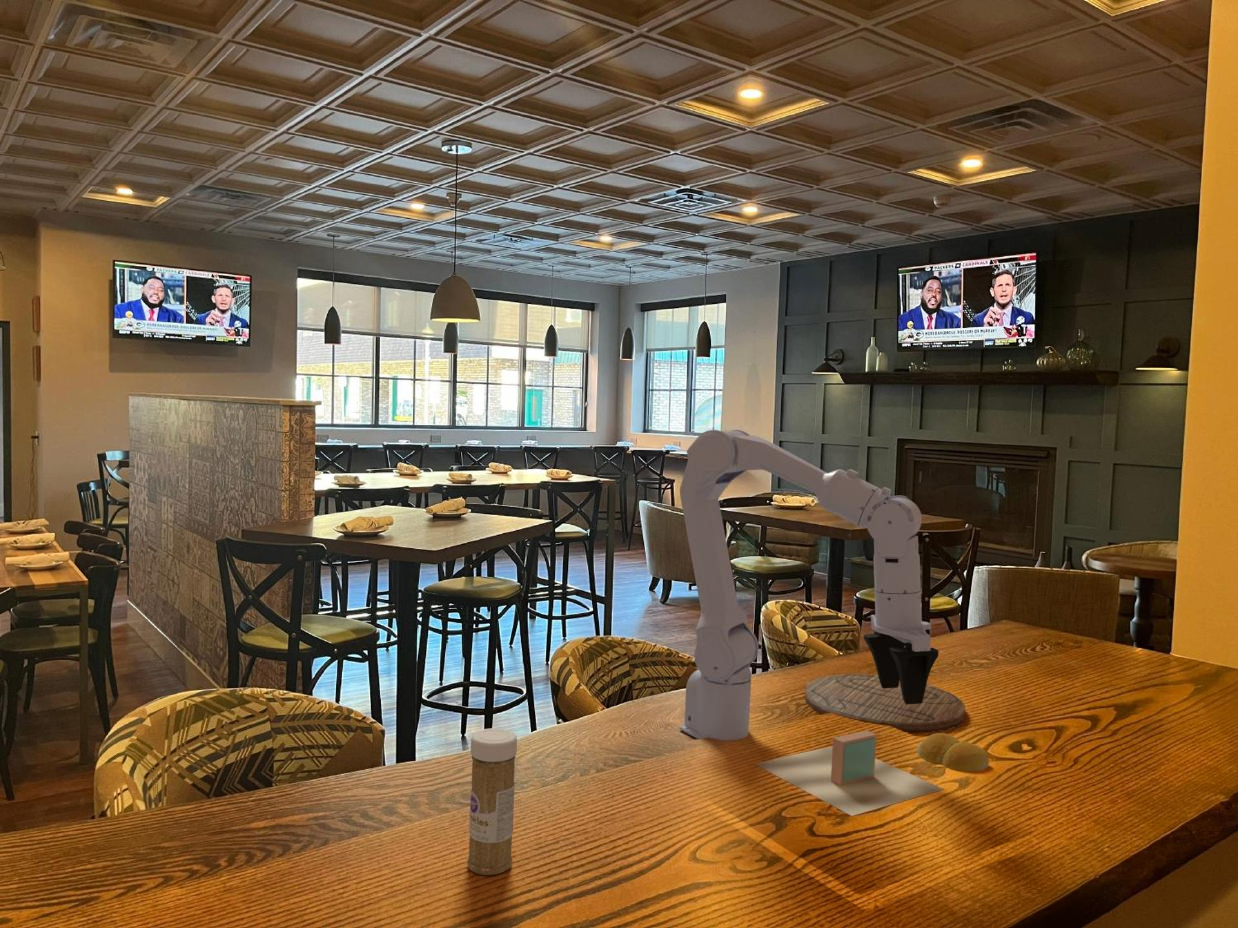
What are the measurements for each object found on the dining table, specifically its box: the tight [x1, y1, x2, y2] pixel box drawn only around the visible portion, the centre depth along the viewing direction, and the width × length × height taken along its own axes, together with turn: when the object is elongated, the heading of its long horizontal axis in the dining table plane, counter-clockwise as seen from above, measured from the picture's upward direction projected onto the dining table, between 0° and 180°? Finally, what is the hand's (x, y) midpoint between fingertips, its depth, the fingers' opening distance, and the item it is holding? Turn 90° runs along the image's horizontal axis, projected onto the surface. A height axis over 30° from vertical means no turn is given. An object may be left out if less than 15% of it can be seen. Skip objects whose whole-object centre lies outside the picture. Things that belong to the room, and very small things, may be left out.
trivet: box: [804, 673, 966, 734], centre depth 146 cm, size 25×25×2 cm
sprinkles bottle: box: [467, 727, 518, 876], centre depth 90 cm, size 5×5×13 cm
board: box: [754, 745, 945, 817], centre depth 114 cm, size 17×16×1 cm
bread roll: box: [916, 732, 990, 772], centre depth 122 cm, size 8×9×4 cm
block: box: [831, 730, 877, 786], centre depth 113 cm, size 2×6×6 cm, turn 122°
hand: (901, 695), depth 116 cm, fingers open, 7 cm apart
